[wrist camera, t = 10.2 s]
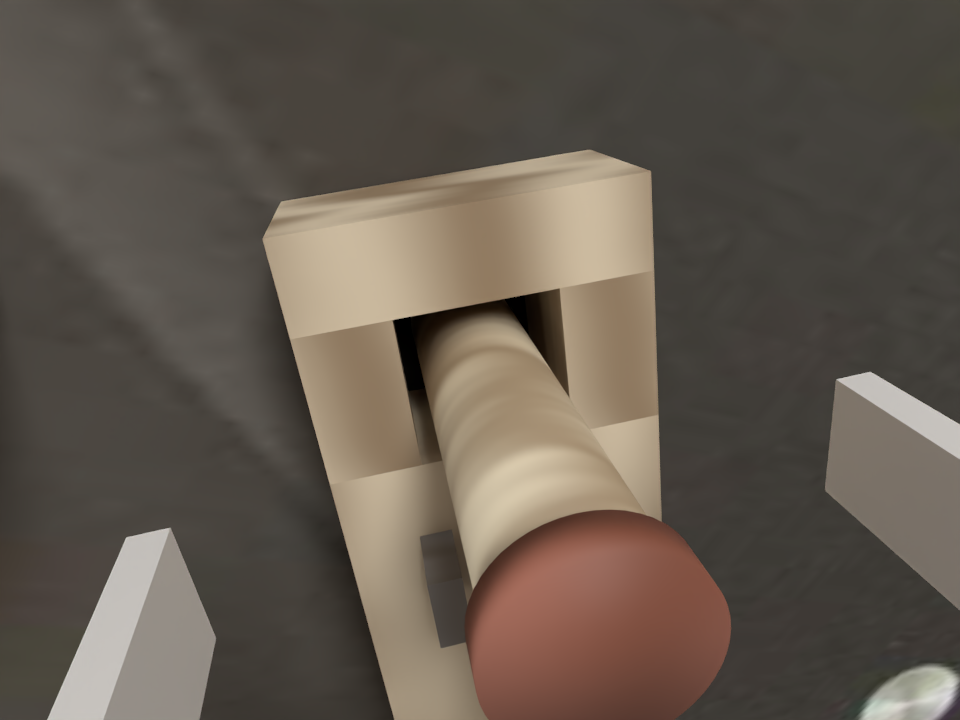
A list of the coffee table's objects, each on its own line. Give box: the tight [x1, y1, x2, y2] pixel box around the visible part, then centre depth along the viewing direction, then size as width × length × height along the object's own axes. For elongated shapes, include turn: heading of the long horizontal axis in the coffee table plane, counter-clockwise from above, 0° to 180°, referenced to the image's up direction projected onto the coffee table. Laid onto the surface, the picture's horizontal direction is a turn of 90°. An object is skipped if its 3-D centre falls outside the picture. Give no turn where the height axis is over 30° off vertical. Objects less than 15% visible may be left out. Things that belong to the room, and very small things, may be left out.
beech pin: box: [411, 299, 731, 720], centre depth 17 cm, size 4×4×15 cm
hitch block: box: [263, 150, 662, 720], centre depth 23 cm, size 10×22×7 cm, turn 8°
